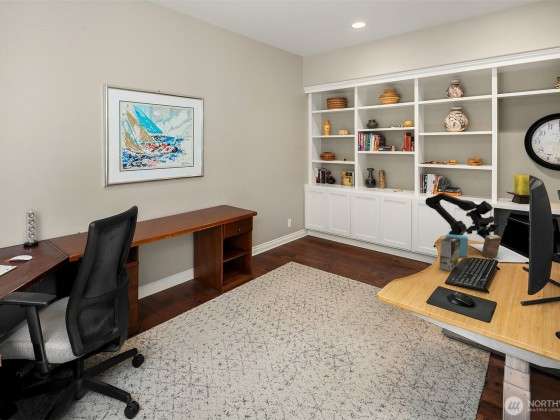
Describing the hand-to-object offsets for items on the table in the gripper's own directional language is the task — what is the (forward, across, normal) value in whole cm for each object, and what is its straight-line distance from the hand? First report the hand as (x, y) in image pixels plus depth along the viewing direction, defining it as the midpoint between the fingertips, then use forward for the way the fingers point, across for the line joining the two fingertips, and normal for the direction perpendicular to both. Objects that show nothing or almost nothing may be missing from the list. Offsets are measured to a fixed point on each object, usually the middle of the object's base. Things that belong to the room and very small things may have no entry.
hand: (489, 241), depth 201 cm
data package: (+3, -18, +10) cm, 21 cm away
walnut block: (+7, 0, +5) cm, 9 cm away
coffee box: (+15, -35, -2) cm, 38 cm away
